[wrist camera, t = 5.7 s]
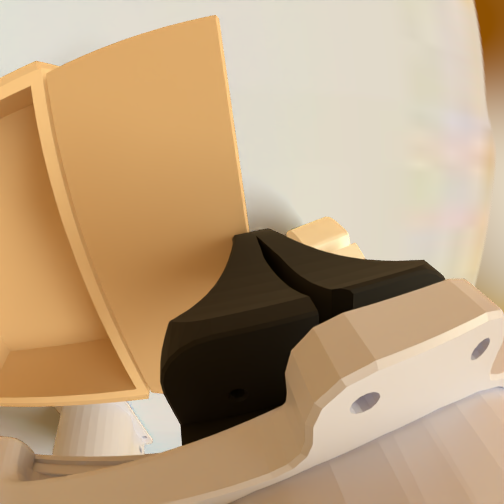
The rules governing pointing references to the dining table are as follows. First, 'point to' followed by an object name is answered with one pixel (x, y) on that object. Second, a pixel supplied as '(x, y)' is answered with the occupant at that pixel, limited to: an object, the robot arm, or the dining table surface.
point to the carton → (50, 270)
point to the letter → (326, 237)
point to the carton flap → (152, 173)
